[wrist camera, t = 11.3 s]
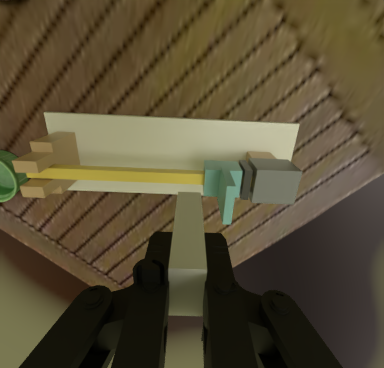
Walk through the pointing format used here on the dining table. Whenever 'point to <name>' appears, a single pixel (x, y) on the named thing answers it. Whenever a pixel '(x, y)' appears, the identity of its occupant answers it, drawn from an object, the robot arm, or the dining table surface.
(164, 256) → the robot arm
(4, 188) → the ramekin
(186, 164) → the cord rig
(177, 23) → the dining table surface
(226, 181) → the sleeve
